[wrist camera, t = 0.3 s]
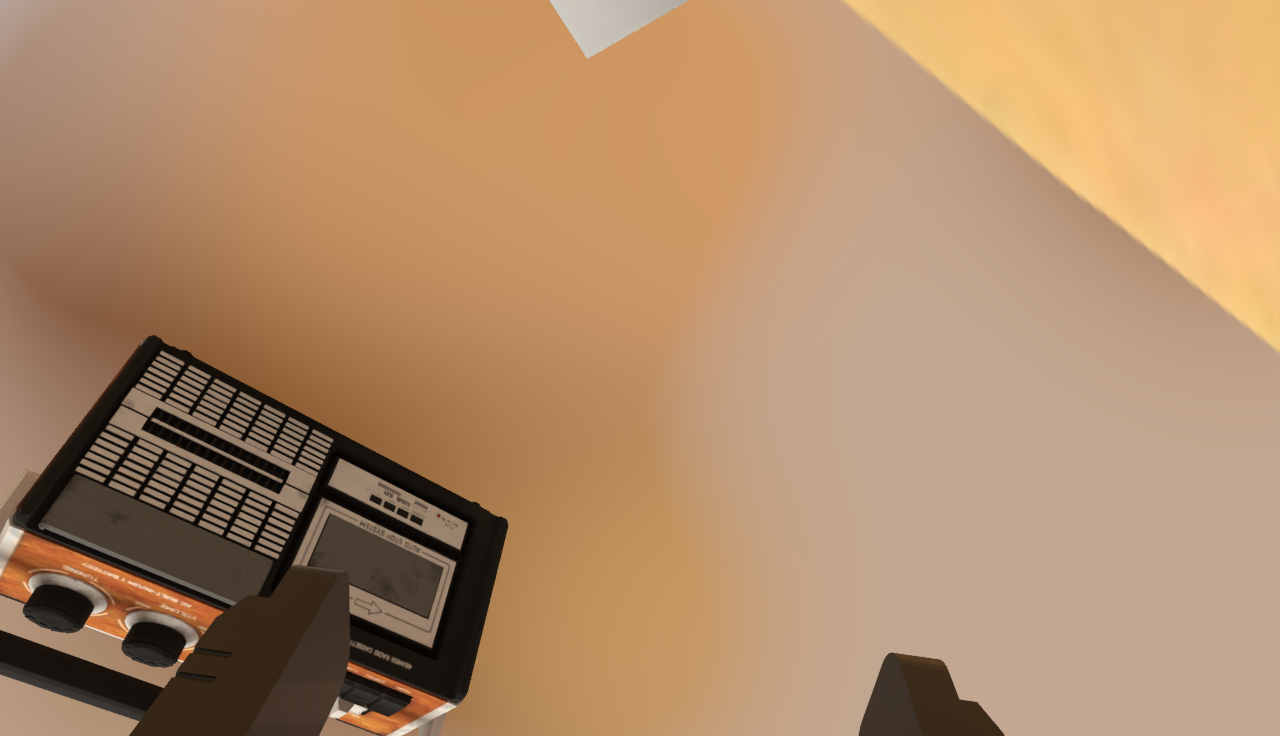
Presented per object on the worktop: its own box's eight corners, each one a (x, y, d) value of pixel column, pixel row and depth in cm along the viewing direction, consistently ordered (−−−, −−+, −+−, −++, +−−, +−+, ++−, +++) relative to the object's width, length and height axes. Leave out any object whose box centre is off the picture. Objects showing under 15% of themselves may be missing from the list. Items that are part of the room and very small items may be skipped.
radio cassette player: (526, 515, 64) (462, 794, 49) (457, 566, 70) (382, 827, 55) (139, 310, 52) (-90, 598, 38) (96, 391, 58) (-116, 667, 44)
